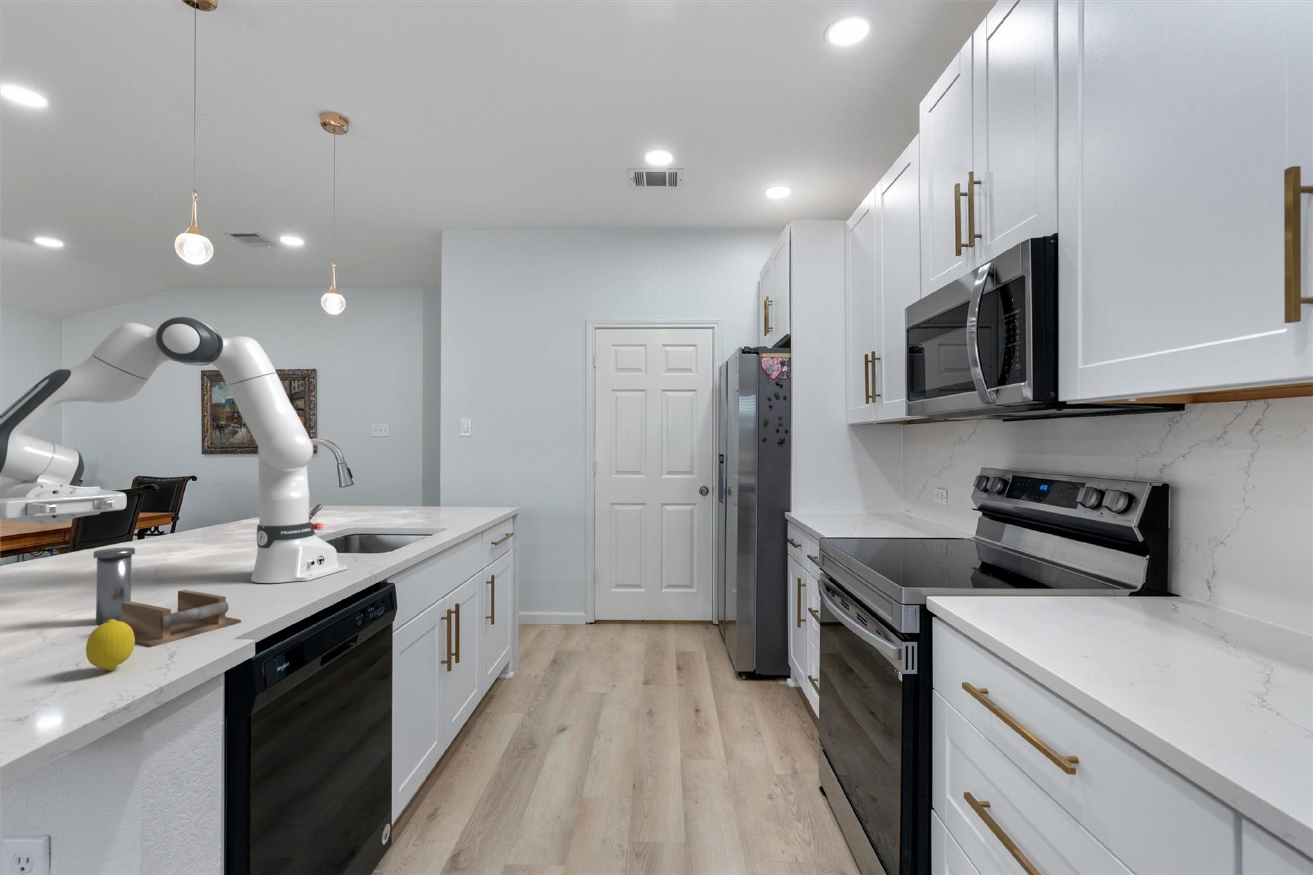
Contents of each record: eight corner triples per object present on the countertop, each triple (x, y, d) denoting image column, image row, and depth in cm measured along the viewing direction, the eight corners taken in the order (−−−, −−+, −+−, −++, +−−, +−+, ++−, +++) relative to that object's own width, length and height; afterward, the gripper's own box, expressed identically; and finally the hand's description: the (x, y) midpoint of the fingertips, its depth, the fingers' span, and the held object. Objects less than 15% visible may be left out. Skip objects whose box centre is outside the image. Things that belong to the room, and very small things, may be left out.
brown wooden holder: (193, 613, 120) (194, 586, 120) (241, 622, 114) (241, 594, 114) (102, 635, 106) (102, 605, 106) (150, 646, 100) (151, 615, 100)
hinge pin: (123, 614, 118) (124, 546, 118) (140, 618, 116) (141, 548, 116) (85, 623, 113) (86, 551, 113) (102, 627, 110) (104, 554, 110)
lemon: (110, 678, 87) (111, 625, 87) (74, 677, 87) (75, 624, 87) (144, 664, 93) (144, 614, 93) (110, 663, 93) (111, 613, 93)
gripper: (-24, 492, 115) (11, 495, 109) (106, 485, 134) (141, 488, 128) (-25, 524, 115) (10, 528, 109) (105, 512, 133) (140, 516, 128)
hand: (82, 506), depth 119 cm, fingers open, 8 cm apart
